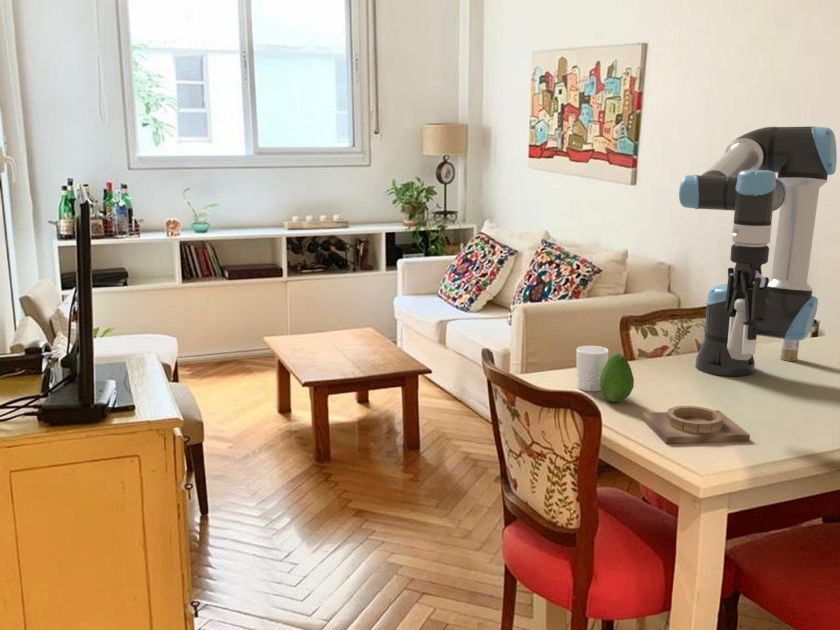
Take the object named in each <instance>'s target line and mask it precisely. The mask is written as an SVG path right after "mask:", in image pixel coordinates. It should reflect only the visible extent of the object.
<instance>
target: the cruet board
mask: <svg viewBox="0 0 840 630" xmlns="http://www.w3.org/2000/svg"><path fill="white" fill-rule="evenodd" d="M641 420H642V422H644V423H645V424H646V425H647V426H648V427H649V428H650V430H652V431H653V433H655V434H656V436H658V437H659V438H660V440H662V441H663V443H665V445H675V444H676V445H677V444H678V445H679V444H703V443H704V444H709V443H712V444H713V443H734V442H736V443H737V442H740V443H741V442H750V436H751V435H750V433H749V432H748V431H746V430H744V428H742V427H741V426H740V425H739V424H737V423H736V422H735V421H733V420H732V419H731V418H729V417H728V416H727V415H726V414H724V413H723V412H722V411H720V410H718V409H717V410H713V409H711V408H709V407H708V408H707V407H703V406H695V405H678V406H673V407H670V408H668V410H667V411H663V412H662V411H661V412H660V411H659V412H658V411H657V412H655V411H654V412H642V413H641Z"/></svg>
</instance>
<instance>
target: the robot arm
mask: <svg viewBox="0 0 840 630" xmlns="http://www.w3.org/2000/svg"><path fill="white" fill-rule="evenodd" d="M836 140H837V139H836V135H835V133H834V131H833V130H832V128H829V127H823V126H766V127H761V128H757V129H754V130H751V131H749V132H747V133H744V134H743V135H740V136H738V137H736V139H734V140H733V141H731V143H730V144H728V146H727V147H726V148H725V151H724V154H723V155H722V156H721V157H720V158H719V159H718V160H717V161H715V162H714V163H713V164H712V165H711V166H710V167H709V168H708V169H707V170H706V171H705V172H703V173H702V174H701V175H700V174H699V175H698V174H694V175H693V174H690V175H686V176H684V177H683V178H682V179H681V181H680V184H679V189H678V190H679V191H678V198H679V199H678V200H679V203H680V205H681V206H682V207H683V208H688V209H695V210H713V211H715V210H716V211H717V210H718V211H734V213H733V214H734V215H733V227H732V229H731V233H732V236H731V237H732V239H731V241H732V242H733V244H732V245H731V246H730V247H731V249H730V258H729V259H730V261H731V262H732V263H735V266H734V267H728V269H727V283H725V284H717V285H715V286H714V285H713V287H711V288H710V289H709V291H708V292H707V293H708V295H707V301H706V304H705V305H706V310H705V311H706V313H705V325H704V339H703V341H702V343H701V345H700V348H699V350H698V353H697V355H696V357H695V368H697V369H698V370H700V371H702V372H704V373H708V374H712V375H717V376H727V377H742V376H743V377H744V376H749V375H752V374H754V373H755V366H756V362H755V358H754V355H756V349H755V348H757V347H756V344H757V336H760V337H767V338H775V339H784V340H799V341H803V340H805V339H806V338H807V337H808V336H809V334H810V332H811V329H812V327H813V325H814V322H815V319H816V318H815V317H816V315H817V311H818V305H819V300H818V297H816V296H815V295H813V288H812V287H811V286H810V284H809V283H808V277H809V270H810V263H811V254H812V246H813V241H814V239H813V238H814V233H815V232H814V230H815V223H816V218H817V217H816V216H817V209H818V201H819V194H820V190H821V189H820V188H822V186H825V184H826V183H827V182H828V176H831V175H834V174H835V173H836V170H837V169H836V168H837V167H836V166H837V157H838V156H837V141H836ZM776 176H777V177H776ZM778 209H779V213H778V220H777V229H776V238H775V245H774V251H773V252H774V253H773V260H772V268H771V276H770V279H769V277H768V276H767V277H765V276H763V273H762V266H763V265H765V264H767V263H768V262H769V255H770V247H769V246H768V244H770V243H771V235H772V221H773V213H774V212H775V211H777V210H778ZM737 299H745V305H746V322H743V324H744V328H743V339H742V350H741V353H742V354H753V355H752V356H751V358H750V359H748V360H737V359H733V358H731V356H730V354H729V351H728V349H727V345H728V341H729V338H730V334H731V331H732V328H733V324H734V320H735V316H736V313H737V310H735V309H734V304H735V301H736V300H737Z"/></svg>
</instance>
